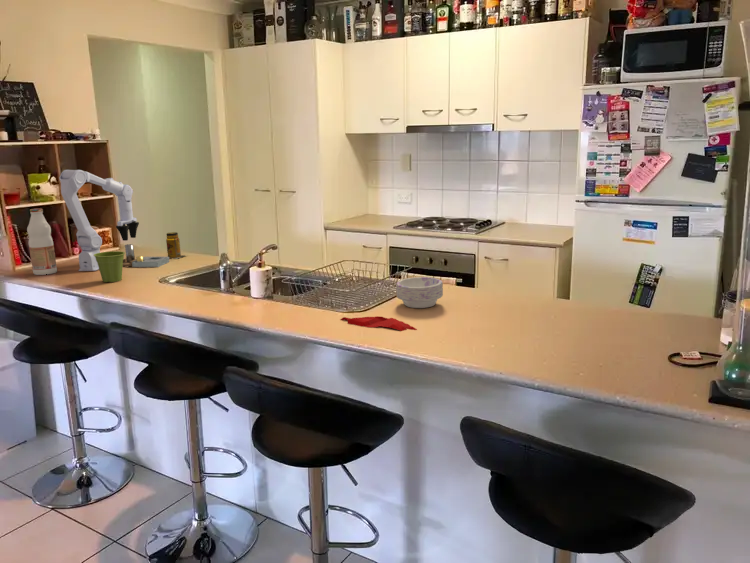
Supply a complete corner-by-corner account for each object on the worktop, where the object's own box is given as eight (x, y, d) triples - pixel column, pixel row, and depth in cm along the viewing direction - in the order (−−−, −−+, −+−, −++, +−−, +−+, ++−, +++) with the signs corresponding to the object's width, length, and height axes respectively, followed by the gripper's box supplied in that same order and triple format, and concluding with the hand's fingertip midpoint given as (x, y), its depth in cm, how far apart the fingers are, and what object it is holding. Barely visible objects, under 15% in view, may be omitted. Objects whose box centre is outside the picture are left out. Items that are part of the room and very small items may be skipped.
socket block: (158, 267, 281) (157, 261, 281) (132, 267, 282) (132, 261, 282) (169, 261, 293) (168, 256, 292) (144, 261, 294) (144, 256, 294)
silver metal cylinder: (132, 262, 288) (130, 245, 286) (125, 262, 288) (123, 245, 286) (136, 261, 291) (134, 244, 289) (129, 261, 291) (127, 244, 290)
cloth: (429, 328, 185) (429, 320, 184) (400, 339, 175) (400, 332, 174) (362, 313, 201) (362, 307, 201) (333, 323, 191) (332, 316, 191)
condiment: (164, 258, 302) (161, 233, 299) (175, 255, 310) (172, 231, 307) (176, 259, 300) (174, 234, 297) (187, 255, 307) (185, 231, 305)
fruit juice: (35, 276, 268) (26, 210, 262) (31, 273, 275) (21, 209, 269) (59, 273, 274) (50, 208, 267) (54, 269, 281) (45, 207, 275)
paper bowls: (387, 305, 208) (386, 282, 206) (417, 296, 218) (417, 274, 216) (421, 314, 197) (421, 289, 195) (452, 304, 207) (452, 280, 206)
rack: (131, 266, 284) (131, 261, 283) (116, 266, 284) (116, 262, 284) (143, 261, 295) (143, 256, 295) (129, 261, 296) (129, 257, 295)
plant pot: (114, 284, 248) (110, 256, 246) (90, 283, 252) (86, 255, 250) (134, 278, 259) (131, 251, 257) (111, 277, 263) (107, 250, 261)
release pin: (141, 266, 283) (141, 257, 282) (136, 266, 283) (135, 257, 282) (144, 264, 286) (143, 256, 285) (138, 264, 286) (138, 256, 285)
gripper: (126, 212, 285) (129, 241, 288) (141, 208, 299) (144, 236, 302) (111, 212, 286) (115, 241, 289) (127, 208, 300) (130, 236, 303)
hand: (129, 239), depth 296 cm, fingers open, 7 cm apart
